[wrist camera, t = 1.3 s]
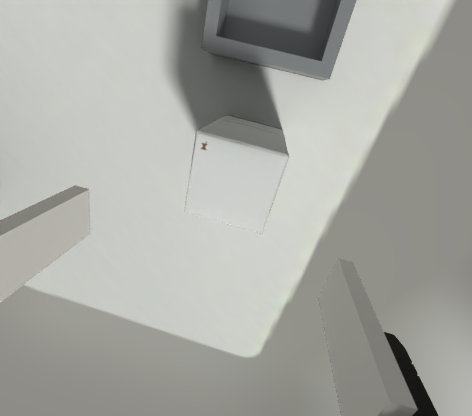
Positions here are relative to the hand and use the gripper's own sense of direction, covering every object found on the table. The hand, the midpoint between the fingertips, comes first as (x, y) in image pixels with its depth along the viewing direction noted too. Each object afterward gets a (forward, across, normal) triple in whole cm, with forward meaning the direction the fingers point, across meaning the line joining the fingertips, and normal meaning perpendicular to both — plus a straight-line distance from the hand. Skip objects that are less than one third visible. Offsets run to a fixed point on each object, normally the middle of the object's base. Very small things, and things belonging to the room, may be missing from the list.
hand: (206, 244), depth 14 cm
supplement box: (+21, 0, 0) cm, 21 cm away
